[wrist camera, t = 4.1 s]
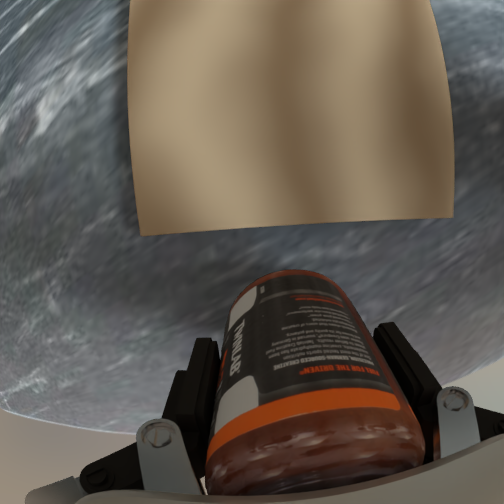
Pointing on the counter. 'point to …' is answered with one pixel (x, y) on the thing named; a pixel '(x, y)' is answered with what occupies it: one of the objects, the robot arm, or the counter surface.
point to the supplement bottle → (304, 395)
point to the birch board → (287, 113)
